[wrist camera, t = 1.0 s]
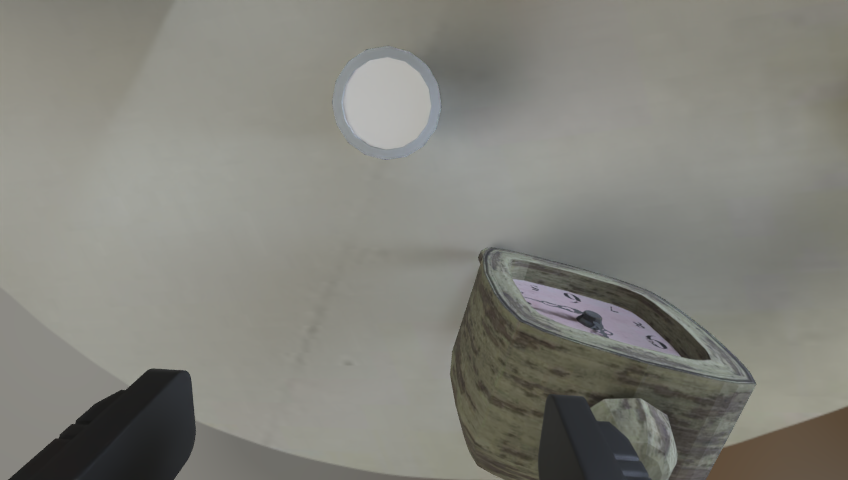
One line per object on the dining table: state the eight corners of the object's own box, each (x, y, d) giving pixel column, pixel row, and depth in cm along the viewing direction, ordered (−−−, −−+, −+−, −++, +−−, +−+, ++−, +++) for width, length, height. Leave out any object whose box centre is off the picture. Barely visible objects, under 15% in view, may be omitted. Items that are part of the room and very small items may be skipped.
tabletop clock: (639, 274, 40) (950, 533, 16) (599, 367, 42) (816, 717, 18) (471, 228, 39) (527, 424, 15) (441, 325, 41) (446, 630, 17)
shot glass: (332, 102, 37) (308, 101, 30) (397, 36, 35) (388, 19, 28) (394, 168, 38) (384, 182, 31) (459, 107, 36) (464, 108, 30)
